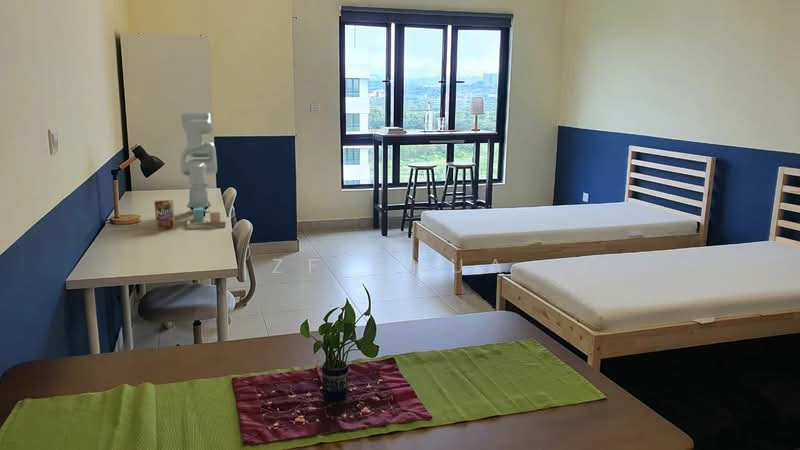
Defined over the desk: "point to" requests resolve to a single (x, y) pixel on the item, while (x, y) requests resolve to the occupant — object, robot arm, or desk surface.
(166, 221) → the candy box
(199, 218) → the teal block
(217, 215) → the ochre block
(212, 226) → the lane shelf
